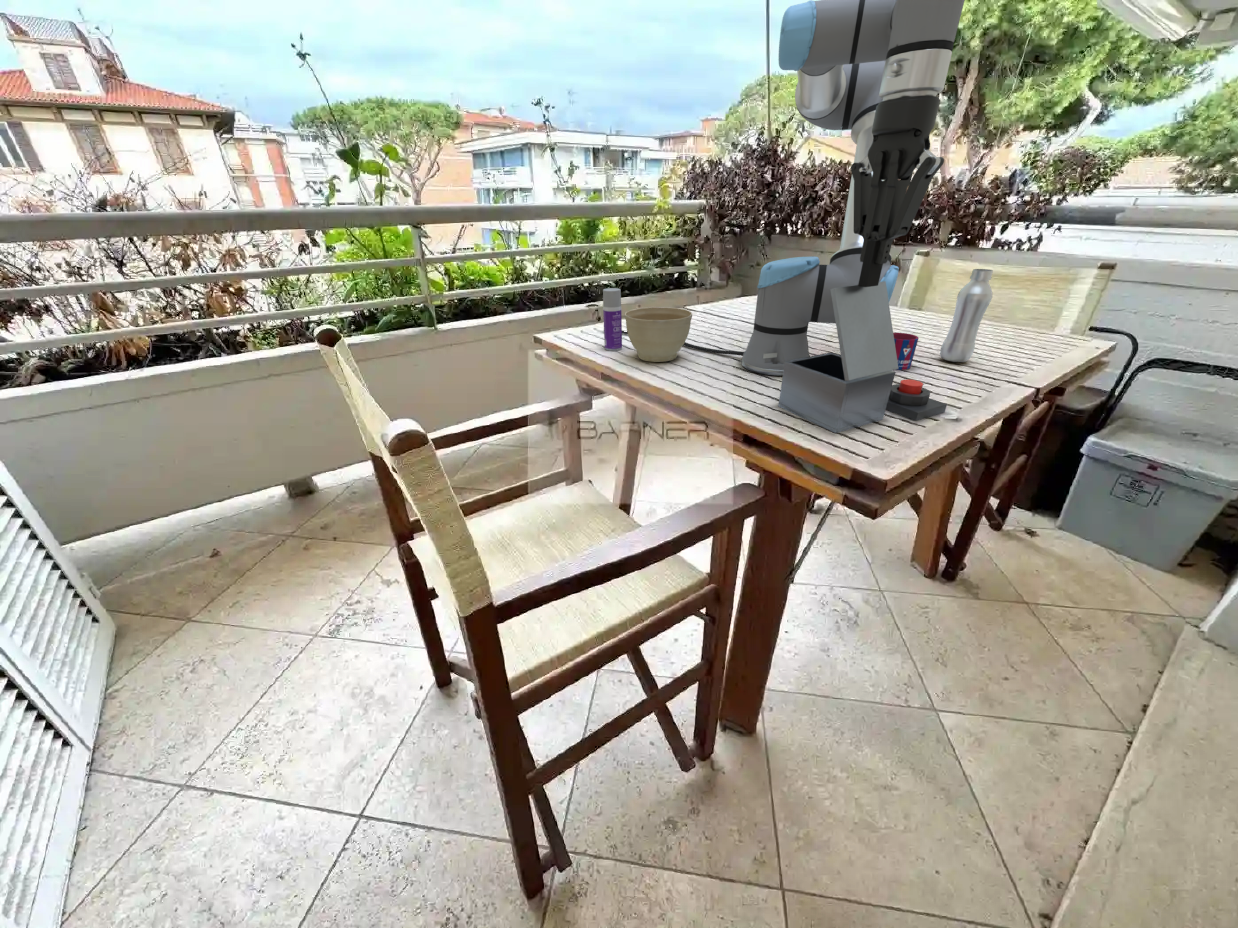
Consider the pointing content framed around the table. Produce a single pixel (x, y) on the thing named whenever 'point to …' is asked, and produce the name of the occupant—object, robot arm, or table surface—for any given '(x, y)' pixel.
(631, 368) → the table surface
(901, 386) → the button
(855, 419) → the tin
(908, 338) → the mug
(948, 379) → the table surface
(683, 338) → the planter bowl
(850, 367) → the lid
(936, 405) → the button base
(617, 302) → the container
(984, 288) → the silver metal bottle
